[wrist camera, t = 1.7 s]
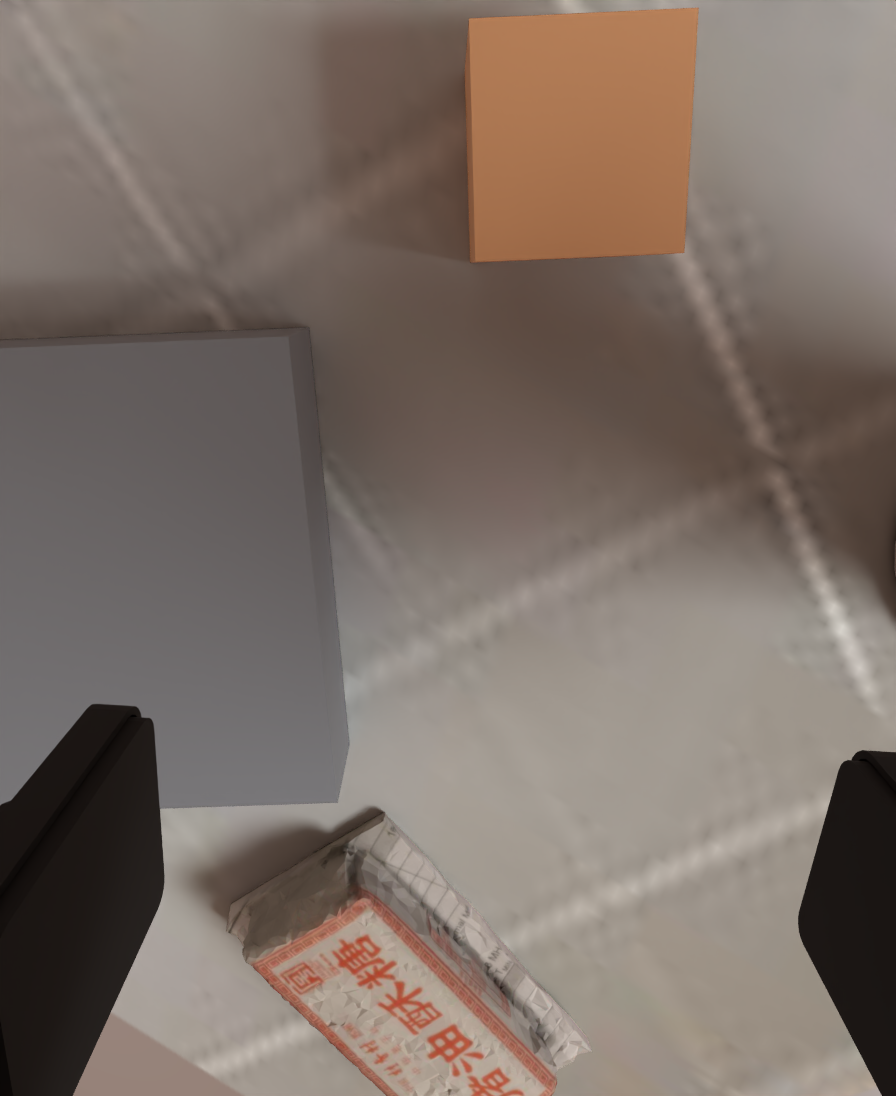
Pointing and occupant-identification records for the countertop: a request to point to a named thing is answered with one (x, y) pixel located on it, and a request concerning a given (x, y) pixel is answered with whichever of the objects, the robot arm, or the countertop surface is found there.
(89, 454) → the plinth
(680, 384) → the countertop surface
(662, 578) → the countertop surface
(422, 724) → the countertop surface
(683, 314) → the countertop surface
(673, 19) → the cube
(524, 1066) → the packaged product
